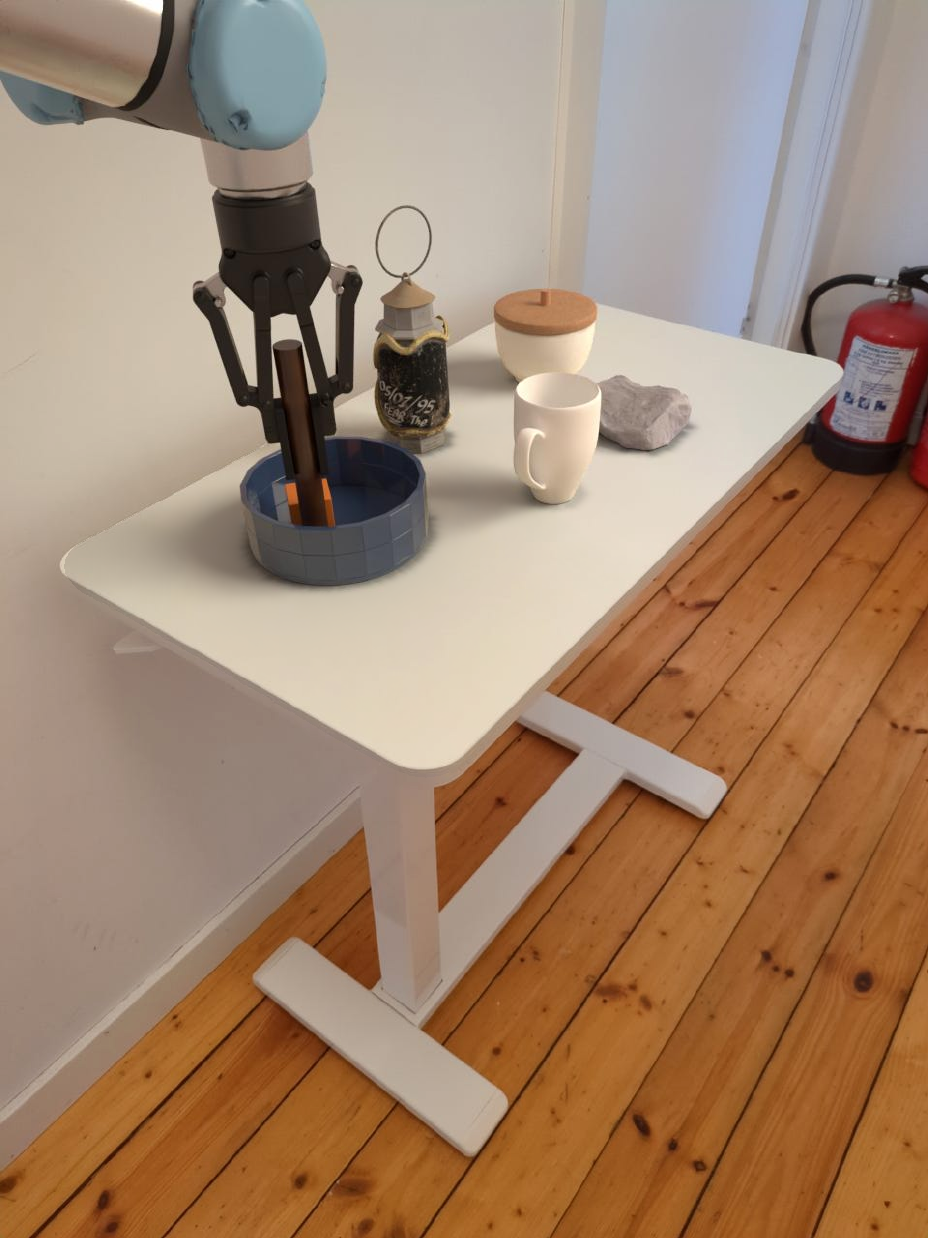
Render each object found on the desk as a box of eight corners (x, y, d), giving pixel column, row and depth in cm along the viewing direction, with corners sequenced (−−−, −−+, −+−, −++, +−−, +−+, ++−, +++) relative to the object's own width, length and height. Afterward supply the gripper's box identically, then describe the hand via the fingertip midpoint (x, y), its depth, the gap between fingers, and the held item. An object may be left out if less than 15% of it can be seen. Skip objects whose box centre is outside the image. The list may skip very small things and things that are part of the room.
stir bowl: (257, 599, 79) (245, 543, 76) (246, 501, 93) (235, 449, 89) (445, 568, 82) (443, 513, 79) (409, 477, 95) (406, 426, 92)
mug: (535, 466, 97) (538, 365, 90) (606, 484, 93) (615, 381, 86) (481, 519, 89) (479, 413, 82) (557, 541, 85) (562, 433, 78)
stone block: (650, 470, 99) (697, 421, 103) (649, 434, 95) (697, 385, 100) (563, 442, 105) (610, 397, 110) (558, 407, 102) (607, 362, 106)
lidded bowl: (612, 382, 113) (620, 294, 106) (528, 407, 108) (531, 316, 101) (555, 349, 121) (558, 266, 114) (475, 370, 116) (474, 285, 110)
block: (294, 540, 85) (288, 504, 83) (290, 519, 89) (284, 483, 86) (336, 534, 86) (331, 498, 84) (330, 513, 89) (326, 477, 87)
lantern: (405, 464, 98) (387, 222, 82) (364, 438, 103) (340, 205, 87) (467, 439, 102) (462, 204, 86) (425, 415, 107) (413, 189, 91)
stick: (304, 539, 83) (273, 351, 72) (302, 526, 85) (271, 340, 73) (330, 535, 83) (303, 348, 72) (327, 522, 85) (300, 337, 74)
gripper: (359, 164, 69) (384, 439, 84) (154, 181, 67) (217, 461, 82) (375, 188, 64) (398, 478, 78) (151, 207, 61) (219, 503, 76)
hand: (306, 469), depth 80 cm, fingers closed on stick, 2 cm apart
